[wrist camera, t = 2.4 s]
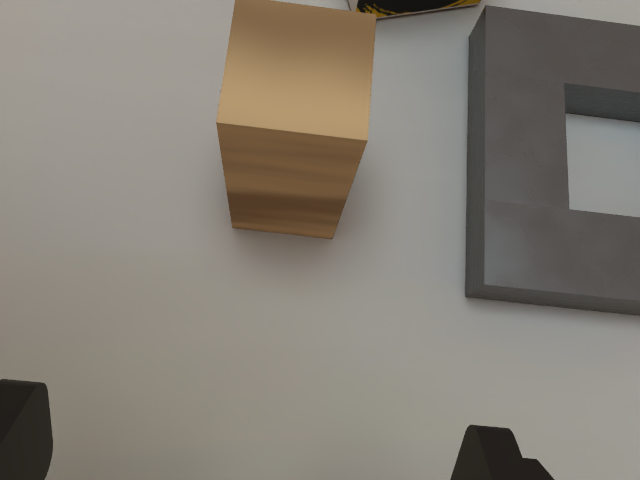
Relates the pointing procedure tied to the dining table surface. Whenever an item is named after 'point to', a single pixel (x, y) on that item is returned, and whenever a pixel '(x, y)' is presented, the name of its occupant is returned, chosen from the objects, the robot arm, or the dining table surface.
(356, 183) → the dining table surface
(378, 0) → the medicine bottle
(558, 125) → the socket plate
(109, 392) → the dining table surface
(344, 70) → the square peg
